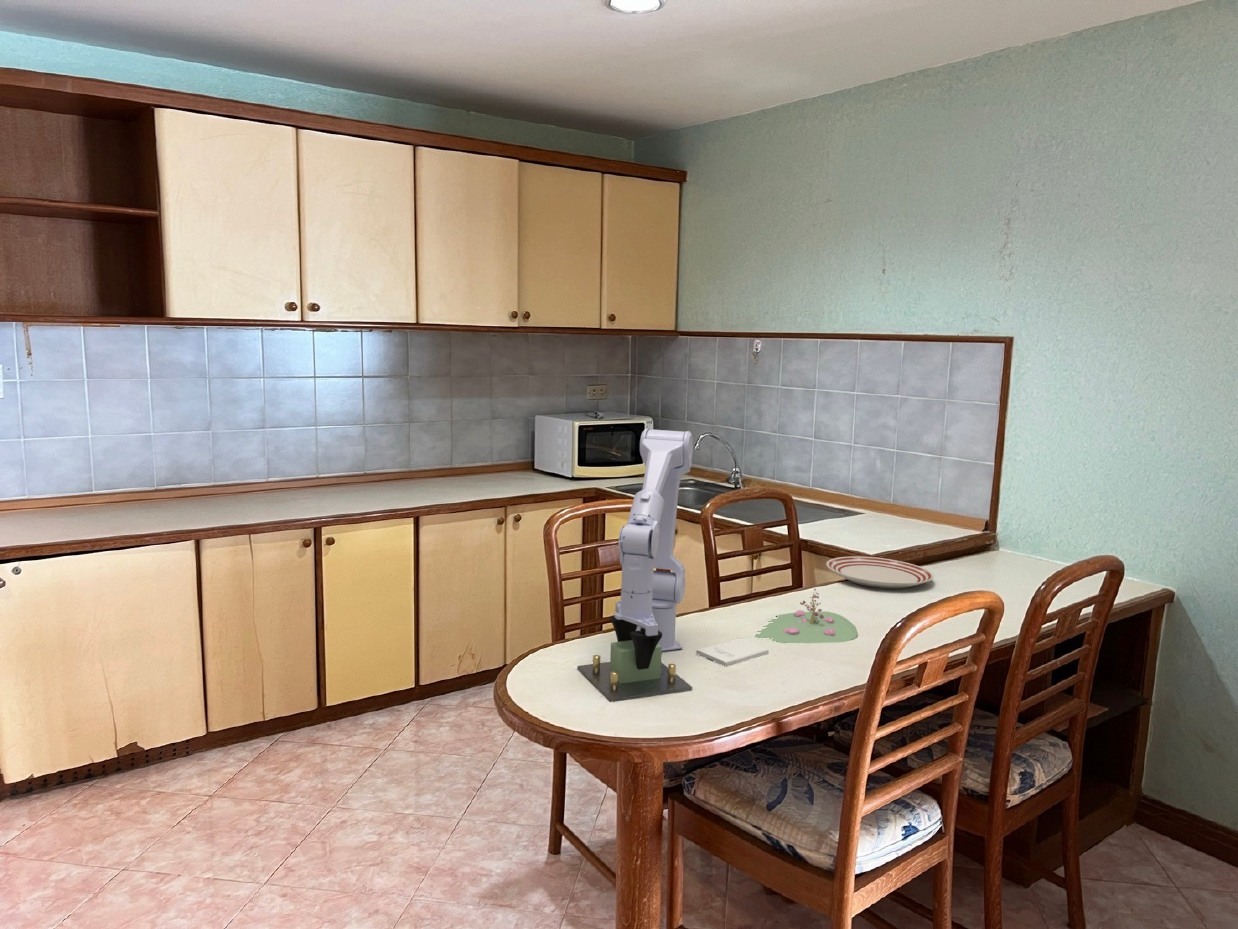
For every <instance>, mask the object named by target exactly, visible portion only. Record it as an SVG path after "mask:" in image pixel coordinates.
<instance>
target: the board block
mask: <svg viewBox="0 0 1238 929" xmlns="http://www.w3.org/2000/svg"><path fill="white" fill-rule="evenodd" d="M662 652H663V651H662V647H661V646H660V645H659V644H657V646H656V648H655V650H654V653H653V656H652V659H651V662H650V665H649V668H648V669H640V670H639V669H637V666H636V658H635V648H634V643H633V640H629V641H620V642H618V641H612V642H610V658H609V660H610V661H609V662H610V674H611V672H612V671H617V672H618V682H619V683H620V684H622V683H630V682H637V681H644V680H651V679H659V678H661V662H662V655H663V654H662Z"/></svg>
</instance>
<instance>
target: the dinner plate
mask: <svg viewBox="0 0 1238 929" xmlns="http://www.w3.org/2000/svg"><path fill="white" fill-rule="evenodd" d="M825 565H826V567H827V568H828V570H830V571H831V572H833V573H834V574H835V575H838V576H839V577H841V578H844V579H846V580H847V581H849V582H851V583H854V584H857V585H861V586H866V587H871V588H877V589H878V588H879V589H890V590H891V589H905V588H910V587H914V586H915V587H916V586H918V585H922V584H925V583H927V582H929V581H932V580H933V579H934V574H933V573H932V571H930V570H928V569H926V568H924V567H922V566H919V565H916V564H914V563H909V562H905V561H901V560H895V559H889V558H882V557H876V556H874V557H873V556H861V555H860V556H859V555H858V556H854V555H853V556H840V557H834V558H832V559H829V560H828V561H826V564H825Z"/></svg>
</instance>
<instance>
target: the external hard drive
mask: <svg viewBox="0 0 1238 929" xmlns="http://www.w3.org/2000/svg"><path fill="white" fill-rule="evenodd" d="M696 653H697V654H699V655H701V656H703V657H702V658H704V657H705V658H704V659H706V658H709V659H708V660H710V659H711V660H710V661H712V660H713V661H715V662H714V663H716V664H718V665H720V664H722V665H721V666H723V665H724V666H723V667H725V666H726V667H730V666H733V665H736V664H739V663H742V661H743V662H746V661H749V660H748V659H750V660H752V659H751V658H753V659H755V658H759V657H762V655H763V656H765V654H766V655H768V654H769V649H768V648H767V647H764V646H762V645H760V644H757V643H754V642H751V641H749V640H746V639H744V638H740V637H739V638H736V639H732V640H729V641H725V642H724V641H723V642H721V643H718V644H713V645H711V646H708V647H703V648H700V649H696V651H695V654H696ZM697 654H696V655H697ZM699 655H698V656H699ZM701 656H700V657H701ZM745 660H746V661H745ZM713 661H712V662H713ZM732 664H733V665H732ZM729 665H730V666H729Z"/></svg>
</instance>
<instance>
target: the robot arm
mask: <svg viewBox="0 0 1238 929" xmlns="http://www.w3.org/2000/svg"><path fill="white" fill-rule="evenodd" d="M693 452H694V437H693V434H692V433H691V431H690V430H688V431H687V430H686V431H680V430H679V431H678V430H666V429H665V430H664V429H662V430H661V429H652V428H651V429H650V428H645V429H644V430H643V431H642V432H641V435H640V440H639V453H640V456H641V459H642V463H644V465H645V471H644V478H643V483H642V488H641V490H639V491H638V492H636V494H634V496H633V499H632V500H633V501H632V505H631V507H630V511H629V516H628V518H627V522H626V525H622V526H621V528H620V531H619V536H618V552H619V564H620V565H621V583H620V585H621V586H620V588H621V589H620V601H615V604H614V605H615V608H614V611H615V613H613V614H614V615H611V616H610V617H609V620H610V622H611V624H612V627H613V628H614V632H615V635H616V639H617V641H616V642H620V641H629V640H633V643H634V648H635V658H636V666H637V669H639V670H640V669H648V668H649V665H650V662H651V659H652V656H653V653H654V650H655V648H656V646H657V644H659V645H660V646H661V647H662V652H667V651H674V650H681V649H683V646H682V645H681V643H678V642H677V641H676V640H675V639H676V637H675V636H676V623H677V622H676V620H677V619H676V618H677V605H679V604H681V603H682V602H683V600H684V598H685V597H684V596H685V593H686V592H685V591H686V568H685V566H684V564H683V563H682V562H681V561H680V560H679V559H678V558H677V557H676V556H674V547H675V538H676V537H675V535H676V525H677V524H676V523H677V514H678V512H677V511H678V502H679V501H678V499H679V492H680V491H679V490H680V484H681V480H682V476H684V475H685V474H689V473H690V472H691V468H692V464H693ZM654 569H656V570H654ZM657 569H660V570H657ZM664 570H666V571H664ZM667 570H668V571H667Z"/></svg>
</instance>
